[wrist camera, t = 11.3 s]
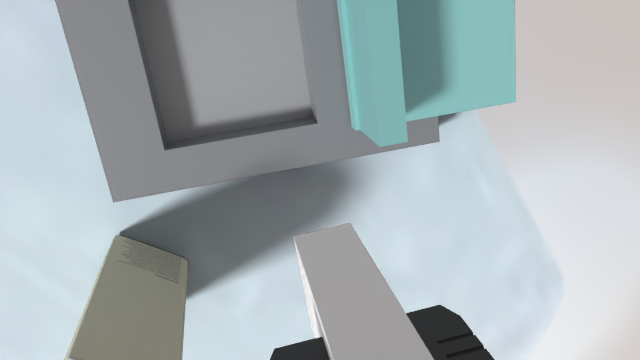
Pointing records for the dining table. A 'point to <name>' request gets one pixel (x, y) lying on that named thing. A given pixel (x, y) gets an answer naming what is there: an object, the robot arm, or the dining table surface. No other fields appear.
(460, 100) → the teal angle bracket
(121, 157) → the socket block
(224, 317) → the dining table surface
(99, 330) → the box
